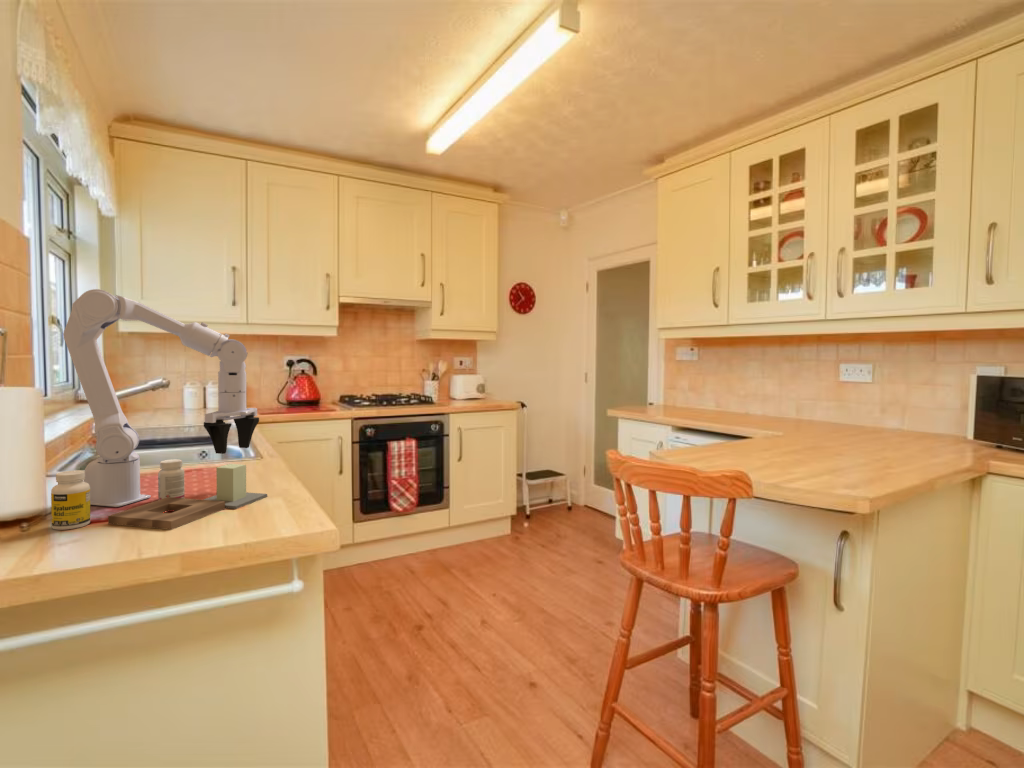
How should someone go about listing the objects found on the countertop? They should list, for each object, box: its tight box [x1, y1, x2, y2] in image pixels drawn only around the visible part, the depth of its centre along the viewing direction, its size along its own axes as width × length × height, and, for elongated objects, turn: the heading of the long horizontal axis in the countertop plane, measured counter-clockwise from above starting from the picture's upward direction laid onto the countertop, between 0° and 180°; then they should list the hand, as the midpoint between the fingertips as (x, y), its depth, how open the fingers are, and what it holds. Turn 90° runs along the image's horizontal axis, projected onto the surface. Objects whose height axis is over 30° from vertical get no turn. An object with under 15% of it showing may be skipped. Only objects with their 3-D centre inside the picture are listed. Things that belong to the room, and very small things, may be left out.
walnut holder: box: [107, 497, 226, 530], centre depth 101 cm, size 13×13×2 cm
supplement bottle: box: [50, 469, 91, 531], centre depth 94 cm, size 5×5×10 cm
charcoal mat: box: [202, 491, 268, 510], centre depth 112 cm, size 10×10×1 cm
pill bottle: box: [157, 458, 186, 500], centre depth 112 cm, size 5×5×8 cm
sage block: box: [215, 463, 247, 501], centre depth 112 cm, size 4×4×7 cm
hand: (232, 450), depth 120 cm, fingers open, 7 cm apart
